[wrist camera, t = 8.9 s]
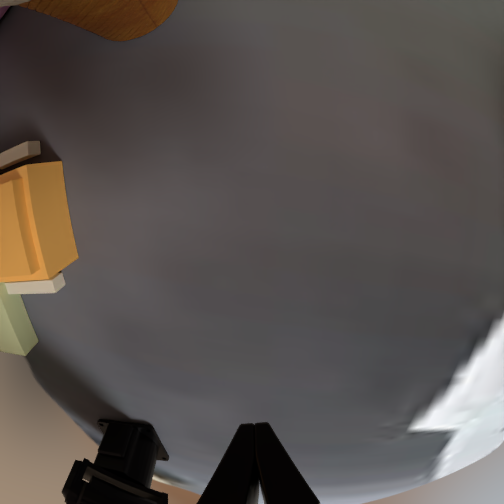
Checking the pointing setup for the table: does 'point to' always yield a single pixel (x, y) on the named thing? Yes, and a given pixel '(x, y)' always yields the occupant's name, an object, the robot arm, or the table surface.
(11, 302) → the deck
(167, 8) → the disposable coffee cup
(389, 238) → the table surface
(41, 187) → the orange block with panel
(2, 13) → the teapot
